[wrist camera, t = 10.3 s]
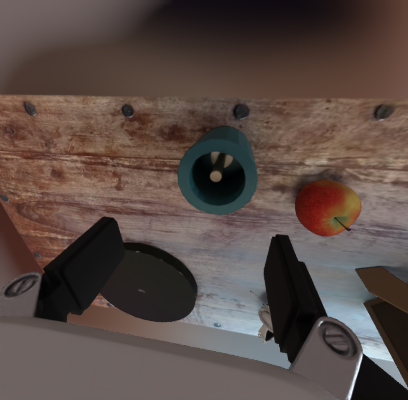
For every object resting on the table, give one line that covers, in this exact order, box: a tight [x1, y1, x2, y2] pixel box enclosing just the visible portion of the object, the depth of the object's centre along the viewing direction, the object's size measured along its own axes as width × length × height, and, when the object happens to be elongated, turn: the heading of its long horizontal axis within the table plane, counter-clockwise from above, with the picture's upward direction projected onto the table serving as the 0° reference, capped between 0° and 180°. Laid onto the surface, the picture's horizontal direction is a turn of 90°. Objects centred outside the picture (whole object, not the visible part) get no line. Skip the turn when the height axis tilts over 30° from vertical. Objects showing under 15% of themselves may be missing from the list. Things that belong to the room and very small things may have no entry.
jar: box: [177, 126, 258, 215], centre depth 25 cm, size 9×9×12 cm
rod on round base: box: [210, 152, 233, 182], centre depth 25 cm, size 4×4×10 cm
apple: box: [295, 180, 361, 236], centre depth 27 cm, size 8×8×10 cm
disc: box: [99, 243, 197, 322], centre depth 50 cm, size 30×30×3 cm
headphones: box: [250, 291, 274, 343], centre depth 42 cm, size 8×10×20 cm
